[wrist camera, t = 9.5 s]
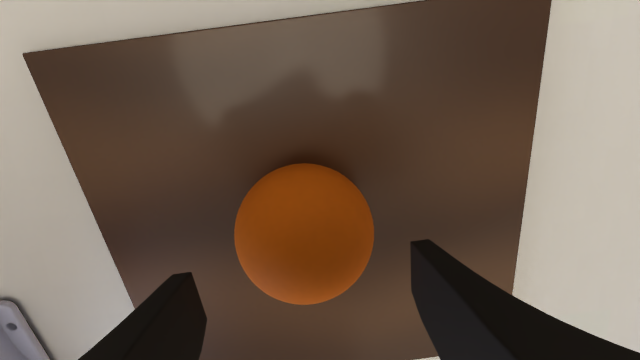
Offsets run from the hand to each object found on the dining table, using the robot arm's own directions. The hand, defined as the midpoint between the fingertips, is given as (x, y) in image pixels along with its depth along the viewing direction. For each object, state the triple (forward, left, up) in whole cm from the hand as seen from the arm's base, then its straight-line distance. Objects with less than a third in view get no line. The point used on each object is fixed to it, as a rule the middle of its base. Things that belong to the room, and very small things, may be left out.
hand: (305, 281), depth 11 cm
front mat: (+2, +1, -6) cm, 7 cm away
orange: (0, 0, -6) cm, 6 cm away
